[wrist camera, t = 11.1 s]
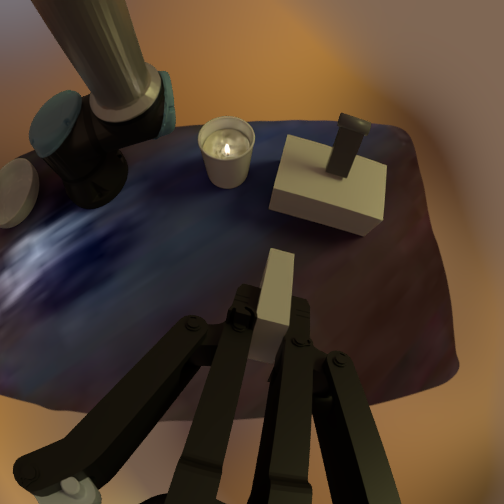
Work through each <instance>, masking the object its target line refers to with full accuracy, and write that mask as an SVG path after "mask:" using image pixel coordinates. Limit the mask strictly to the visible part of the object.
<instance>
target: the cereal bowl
mask: <svg viewBox="0 0 504 504" xmlns="http://www.w3.org/2000/svg"><path fill="white" fill-rule="evenodd" d="M38 193H39V177H38V174H37V171H36V169H35V168H34V166H33V165H32V164H31V163H30V162H29V161H28V160H26V159H23V158H19V159H15V160H12V161H10V162H9V163H7V164H6V165H5V166H4V167H3V168H2V169H1V170H0V228H11V227H14V226H16V225H18V224H19V223H21V222H22V221H23V220H24V219H25V218H26V217H27V216H28V215H29V213H30V212H31V211H32V209H33V207H34V205H35V203H36V200H37V197H38Z"/></svg>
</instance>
